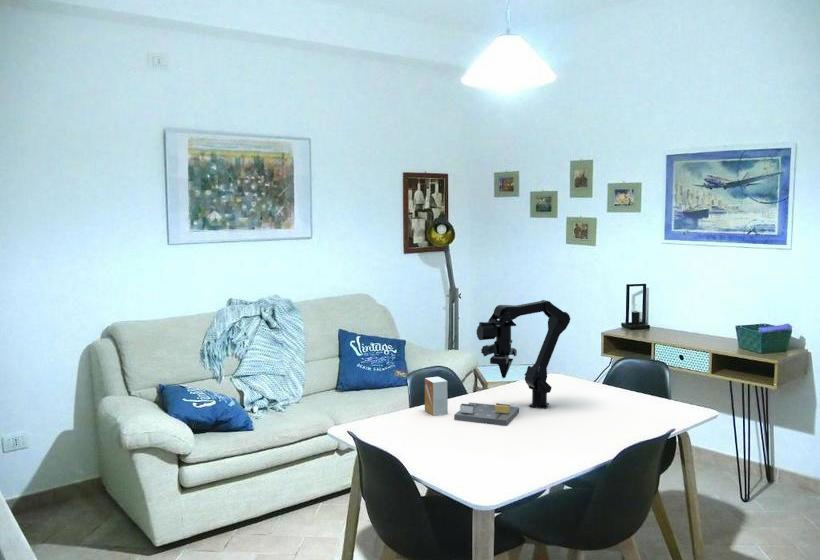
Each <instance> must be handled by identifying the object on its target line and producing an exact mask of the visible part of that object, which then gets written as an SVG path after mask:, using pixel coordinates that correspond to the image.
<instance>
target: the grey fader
mask: <svg viewBox="0 0 820 560" xmlns="http://www.w3.org/2000/svg"><path fill="white" fill-rule="evenodd" d="M459 411H460V412H461V413H470V414H473V413H474V412H475V405H472V404H468V403H461V404H460V405H459Z"/></svg>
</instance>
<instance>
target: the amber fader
mask: <svg viewBox="0 0 820 560" xmlns="http://www.w3.org/2000/svg"><path fill="white" fill-rule="evenodd" d="M494 405H495V412H498V413H509V412H510V407H511V404H509V403H498V402H497V403H495V404H494Z"/></svg>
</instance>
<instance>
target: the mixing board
mask: <svg viewBox="0 0 820 560" xmlns="http://www.w3.org/2000/svg"><path fill="white" fill-rule="evenodd" d="M467 404H472V405H475V412H474V413H473V414H470V413H461V412H460V410H458V411H457V412H456V413H454V415H453V418H454V419H453V420H455V421H460V420H461V421H460V422H470V423H480V424H486V423H487V424H489V425H495V426H506V427H507V426H508V425H509V424H510V423H511V422H512V421H513V419H515V418H516V416H517V415H519V414H520V407H519V406H510V412H509V413H498V412H495V405H496V404H489V403H477V402H469V403H468V402H467Z"/></svg>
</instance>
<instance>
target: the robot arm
mask: <svg viewBox="0 0 820 560" xmlns="http://www.w3.org/2000/svg"><path fill="white" fill-rule="evenodd" d="M495 306H496V307H494V309H493V313H492V314H491V316H490V318H489V319H488V321H479V322H478V326H477V329H476V336H477V339H478V340H479V341H487V340H495V339H496V340H495V341H494V342H493V343H492V344H490V345H489V344H486V345H483V346H482V348H481V349H480V350H481V352H480V353H481V354H482V355H483V357H487V356H489V355H492V354H493V355H492V356H491V357H490V358H489V364H491V365H498V367H499V372H500V375H501V377H502V379H505V378H506V376H507V375H508V372H509V370H510V367H511V366H512V363H513V360H514V358H511V357H510V355H511V356H513V357H517V354H518V352H517V349H516V348H514V347H512V343H513V339H512V327H517V324H516V323H515V322H514V320H515V319H517V318H519V317H521V316H526V315H531V314H536V313H544V315H545V316H546V317H547V318H548V319H547V332H546V335H545V337H544V341H543V342H542V345H541V347H540V350H539V352H538V355H537V358H536V361H535V363H534V364H533V365H532V366H531V365H528V366H527V369H526V372H525V373H524V381H525V384H526V385H527V387H528V388H529V389H530V390H531V392H532V393H531V394H532V396H531V403H530V404H529V407H530V408H539V409H540V408H541V409H547V407H548V406H550V403H549V402H548V400H547V399H548V394H549V393H551V391H552V386H551V385H550V384H549V383H548V382H547V380H548V379H547V378H548V370H547V369H548V366H549V364H550V362H551V359H552V356H553V352H554V350H555V347H556V345H557V343H558V341H559V338H560V336H561V334H562V333H564V331H565V330H566V329H567V327H568V326H569V324H570V321H571V315H570V314H569V313H568V312H567V311H563V310H561V309H560V308H559V307H557V306H556V305H554V304H553V303H552V302H551V301H550V300H546V299H545V300H544V299H542V300H540V301H534V302H528V303H522V304H517V305H515V304H514V305H511V304H499V305H495Z"/></svg>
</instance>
